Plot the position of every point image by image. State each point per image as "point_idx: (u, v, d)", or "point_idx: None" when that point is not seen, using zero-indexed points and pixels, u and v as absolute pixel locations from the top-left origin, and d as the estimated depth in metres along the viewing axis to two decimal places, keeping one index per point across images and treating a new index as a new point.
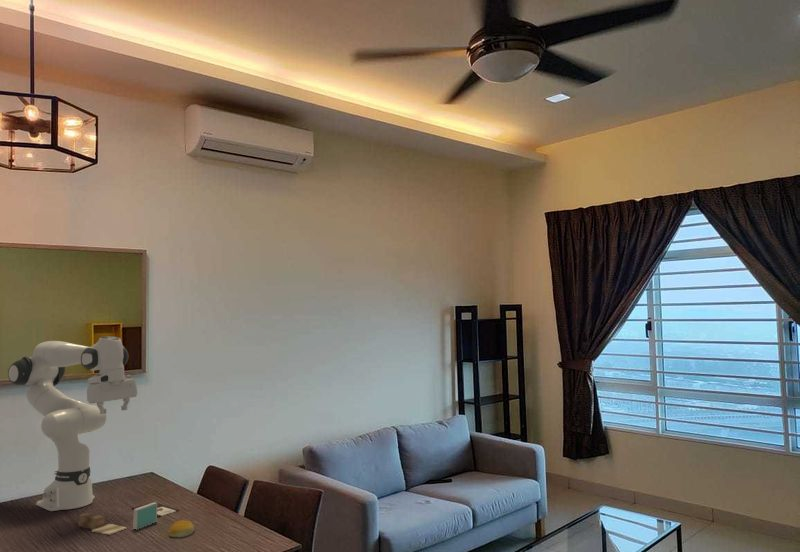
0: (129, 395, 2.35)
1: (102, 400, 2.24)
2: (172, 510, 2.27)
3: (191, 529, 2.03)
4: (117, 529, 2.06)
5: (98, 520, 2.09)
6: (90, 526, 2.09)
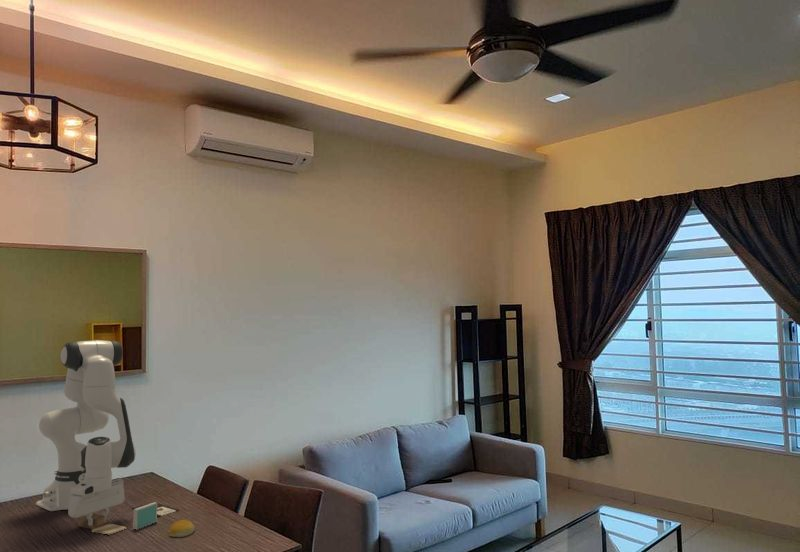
0: (115, 503, 2.15)
1: (85, 514, 2.04)
2: (172, 510, 2.27)
3: (191, 529, 2.03)
4: (117, 529, 2.06)
5: (98, 519, 2.09)
6: (90, 526, 2.09)
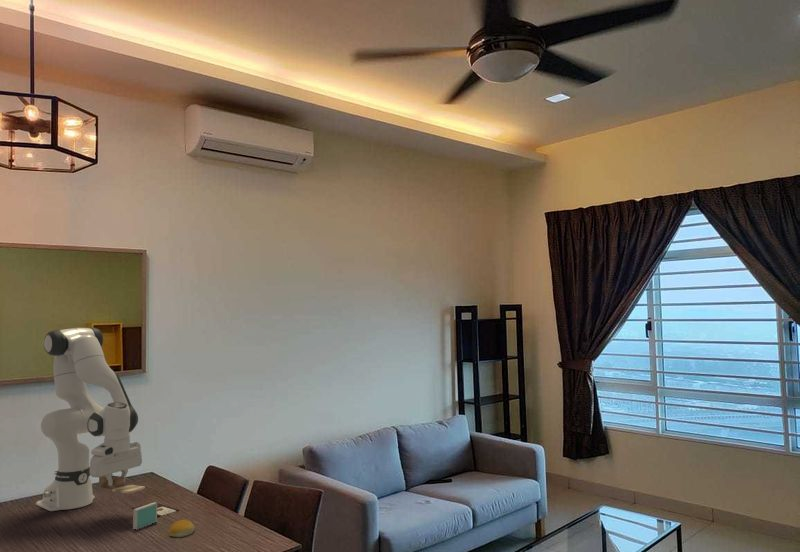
0: (133, 465, 2.25)
1: (105, 473, 2.14)
2: (172, 510, 2.27)
3: (191, 529, 2.03)
4: (136, 488, 2.16)
5: (118, 480, 2.18)
6: (110, 486, 2.19)
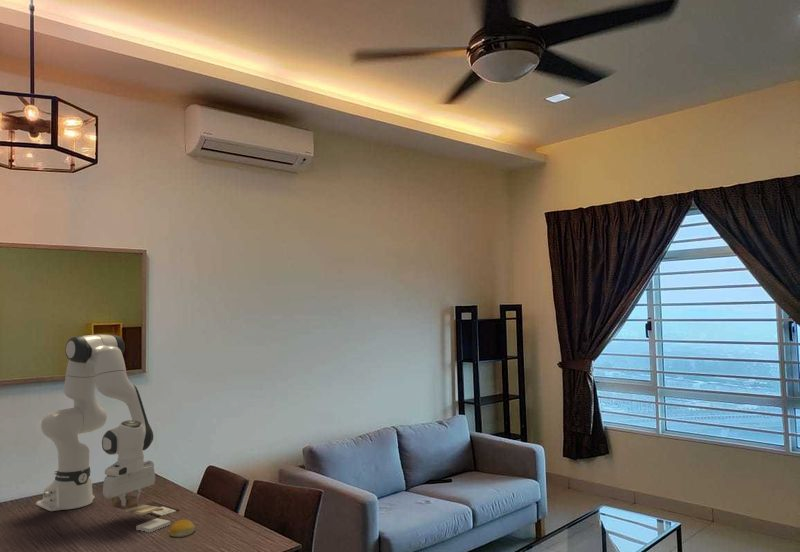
0: (146, 484, 2.21)
1: (119, 494, 2.10)
2: (172, 510, 2.27)
3: (191, 529, 2.03)
4: (150, 509, 2.12)
5: (131, 500, 2.14)
6: (123, 506, 2.15)
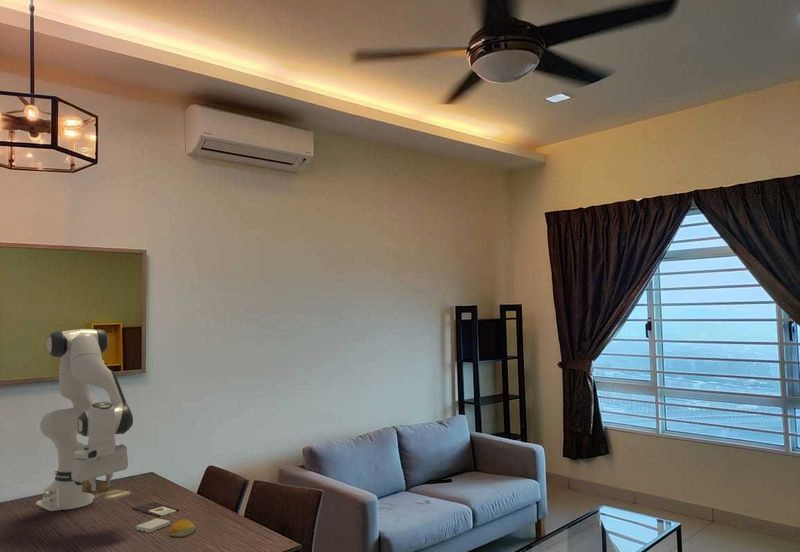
0: (119, 469, 2.13)
1: (88, 478, 2.02)
2: (172, 510, 2.27)
3: (191, 528, 2.03)
4: (121, 493, 2.04)
5: (102, 485, 2.06)
6: (94, 491, 2.07)
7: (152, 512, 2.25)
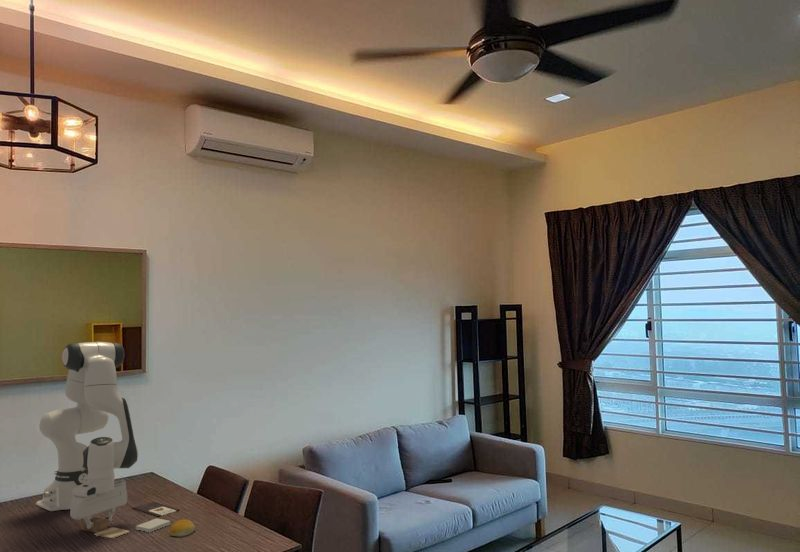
0: (118, 504, 2.12)
1: (87, 515, 2.01)
2: (172, 510, 2.27)
3: (192, 528, 2.04)
4: (120, 533, 2.03)
5: (101, 523, 2.05)
6: (93, 529, 2.06)
7: (152, 512, 2.25)
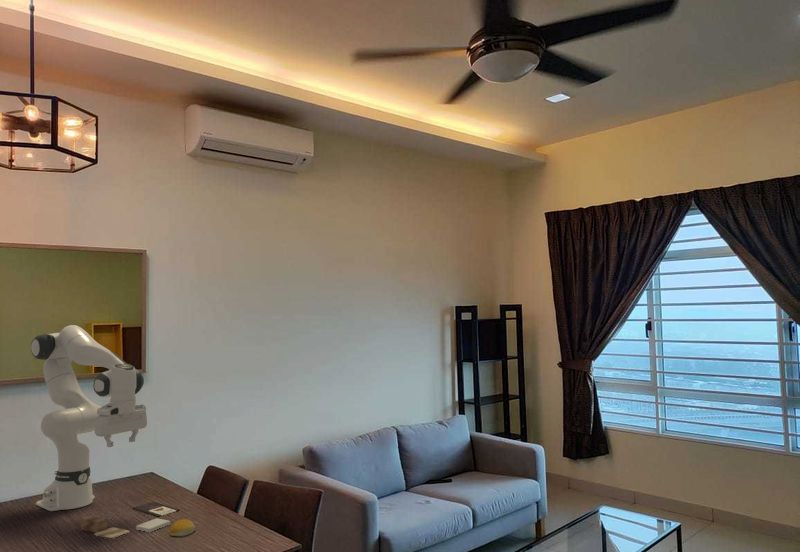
0: (138, 427, 2.25)
1: (110, 433, 2.15)
2: (172, 510, 2.27)
3: (192, 528, 2.04)
4: (120, 533, 2.03)
5: (101, 523, 2.05)
6: (93, 529, 2.06)
7: (152, 512, 2.25)
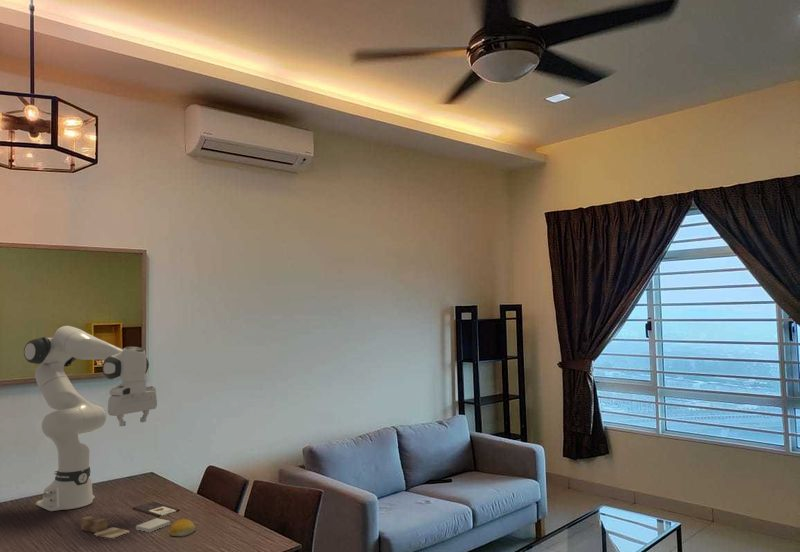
0: (149, 407, 2.33)
1: (122, 413, 2.22)
2: (172, 510, 2.27)
3: (192, 528, 2.04)
4: (120, 533, 2.03)
5: (101, 523, 2.05)
6: (93, 529, 2.06)
7: (152, 512, 2.25)
